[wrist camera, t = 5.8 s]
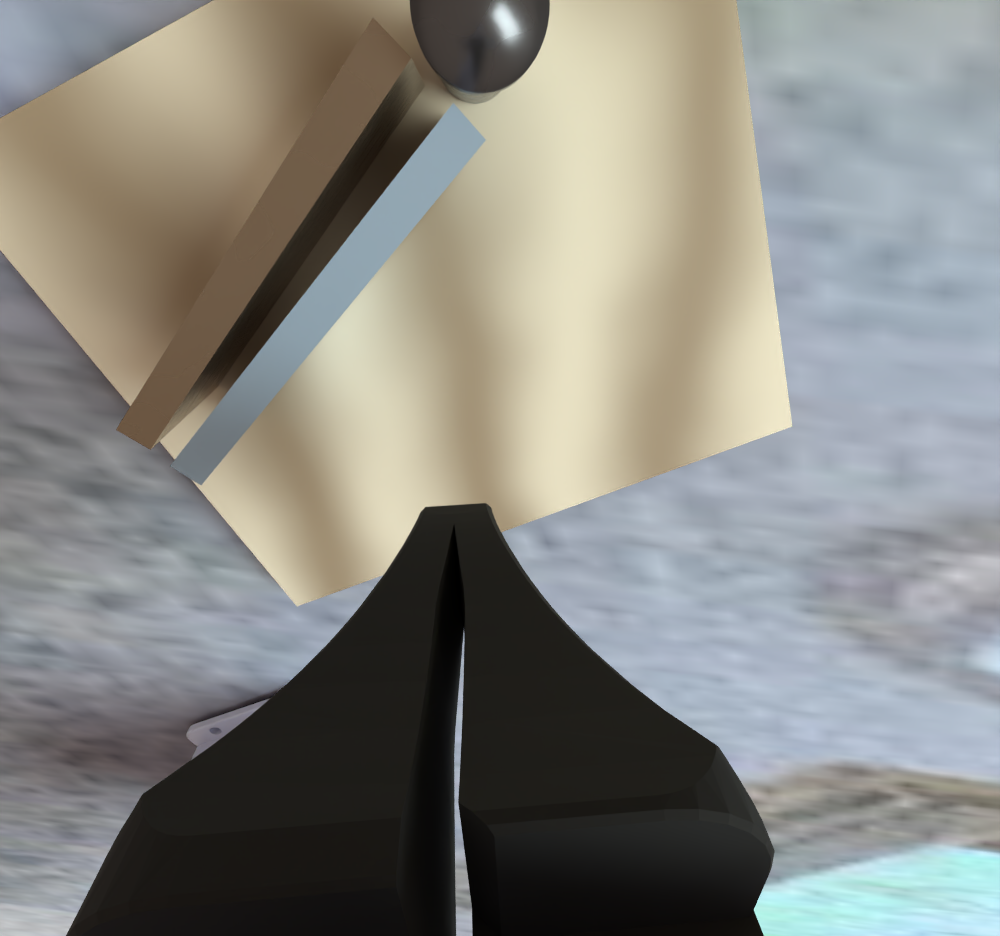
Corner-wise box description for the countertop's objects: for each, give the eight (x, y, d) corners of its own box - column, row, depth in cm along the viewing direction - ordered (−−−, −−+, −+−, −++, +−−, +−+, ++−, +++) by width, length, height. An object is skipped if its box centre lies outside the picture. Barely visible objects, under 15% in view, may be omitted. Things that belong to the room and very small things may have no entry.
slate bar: (455, 118, 13) (453, 102, 9) (479, 145, 13) (486, 139, 10) (232, 400, 16) (169, 466, 13) (256, 417, 16) (201, 485, 13)
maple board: (305, 584, 22) (296, 606, 20) (-35, 159, 14) (-76, 159, 13) (774, 411, 19) (792, 426, 18) (678, -231, 11) (701, -271, 10)
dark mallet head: (461, -40, 12) (461, -149, 8) (540, 53, 12) (578, 2, 8) (192, 370, 16) (98, 444, 12) (266, 418, 17) (202, 502, 13)
